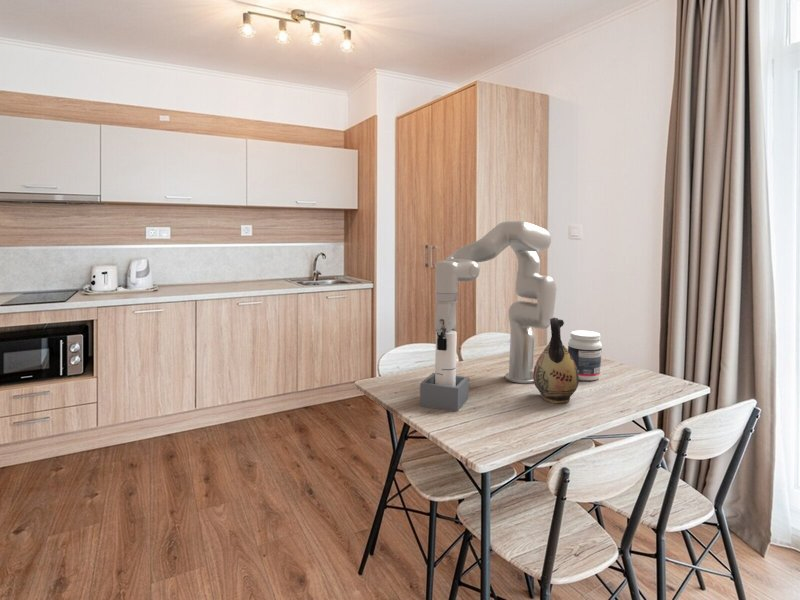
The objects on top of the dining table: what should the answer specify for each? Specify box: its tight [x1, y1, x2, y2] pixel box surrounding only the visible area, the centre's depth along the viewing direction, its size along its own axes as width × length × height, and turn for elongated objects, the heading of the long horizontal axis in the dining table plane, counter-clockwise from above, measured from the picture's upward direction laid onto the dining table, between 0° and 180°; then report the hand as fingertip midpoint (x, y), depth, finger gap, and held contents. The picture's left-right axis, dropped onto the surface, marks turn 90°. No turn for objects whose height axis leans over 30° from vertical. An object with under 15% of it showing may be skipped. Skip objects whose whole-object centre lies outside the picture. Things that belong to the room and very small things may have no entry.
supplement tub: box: [567, 329, 603, 382], centre depth 199 cm, size 13×13×18 cm
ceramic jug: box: [533, 317, 580, 404], centre depth 172 cm, size 17×15×30 cm
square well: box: [419, 372, 470, 412], centre depth 170 cm, size 13×13×8 cm
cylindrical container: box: [434, 330, 458, 387], centre depth 169 cm, size 7×7×25 cm
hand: (446, 346), depth 168 cm, fingers open, 9 cm apart
